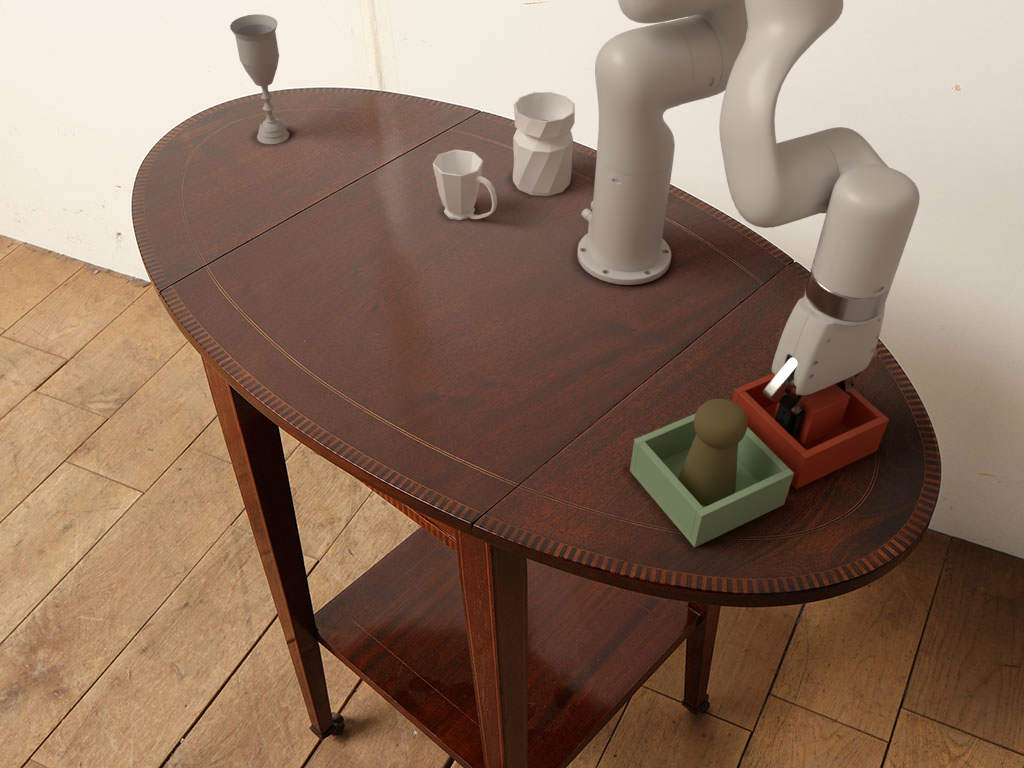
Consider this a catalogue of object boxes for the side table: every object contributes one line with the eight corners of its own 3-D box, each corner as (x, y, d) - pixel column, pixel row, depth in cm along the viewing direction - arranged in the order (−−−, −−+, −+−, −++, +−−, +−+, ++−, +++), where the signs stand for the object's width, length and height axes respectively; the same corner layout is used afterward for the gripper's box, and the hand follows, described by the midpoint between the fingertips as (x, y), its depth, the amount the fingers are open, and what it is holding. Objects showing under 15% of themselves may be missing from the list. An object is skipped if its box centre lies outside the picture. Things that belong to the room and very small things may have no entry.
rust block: (773, 416, 109) (782, 383, 106) (808, 401, 111) (818, 368, 107) (804, 445, 106) (814, 412, 102) (839, 429, 108) (850, 396, 104)
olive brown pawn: (729, 462, 106) (747, 388, 99) (740, 506, 102) (760, 432, 94) (673, 463, 106) (687, 389, 98) (682, 507, 102) (697, 433, 94)
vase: (553, 202, 143) (557, 128, 135) (501, 185, 146) (502, 111, 138) (580, 174, 149) (586, 101, 140) (530, 158, 152) (532, 86, 143)
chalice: (253, 125, 158) (232, 15, 146) (296, 123, 159) (279, 13, 146) (249, 148, 153) (227, 36, 140) (293, 146, 153) (276, 34, 141)
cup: (455, 192, 145) (454, 143, 139) (510, 216, 140) (511, 166, 135) (424, 213, 140) (421, 164, 135) (480, 239, 136) (479, 189, 131)
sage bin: (629, 470, 106) (634, 439, 102) (715, 433, 110) (722, 401, 107) (694, 547, 99) (701, 516, 95) (784, 504, 103) (794, 473, 99)
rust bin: (727, 420, 112) (734, 388, 108) (805, 386, 116) (815, 355, 112) (795, 489, 104) (805, 458, 101) (876, 451, 108) (889, 419, 105)
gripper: (883, 245, 101) (841, 375, 114) (753, 294, 95) (723, 426, 108) (939, 285, 96) (888, 416, 109) (805, 339, 90) (768, 471, 103)
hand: (806, 419), depth 108 cm, fingers closed on rust block, 5 cm apart
